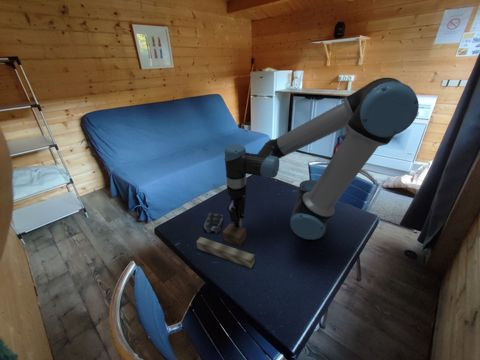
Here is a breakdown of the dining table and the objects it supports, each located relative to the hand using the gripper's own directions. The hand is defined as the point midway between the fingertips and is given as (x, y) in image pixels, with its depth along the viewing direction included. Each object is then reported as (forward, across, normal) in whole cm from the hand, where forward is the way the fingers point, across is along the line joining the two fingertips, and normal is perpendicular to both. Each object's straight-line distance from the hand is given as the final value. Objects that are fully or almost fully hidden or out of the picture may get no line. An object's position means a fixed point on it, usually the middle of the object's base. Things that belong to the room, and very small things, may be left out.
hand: (238, 230), depth 99 cm
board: (+2, +13, 0) cm, 14 cm away
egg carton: (+2, 0, -13) cm, 13 cm away
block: (+2, +4, 0) cm, 4 cm away
